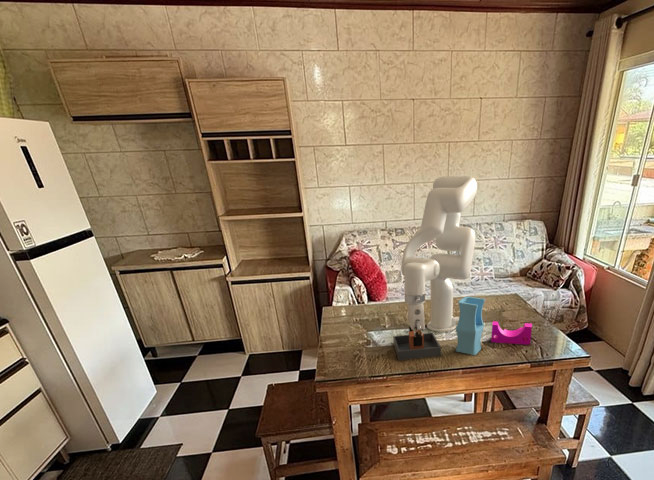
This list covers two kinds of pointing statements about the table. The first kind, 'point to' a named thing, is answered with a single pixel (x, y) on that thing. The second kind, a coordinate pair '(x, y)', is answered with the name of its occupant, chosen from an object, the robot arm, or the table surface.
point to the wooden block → (411, 345)
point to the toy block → (511, 334)
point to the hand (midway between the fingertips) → (415, 340)
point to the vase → (470, 325)
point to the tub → (404, 351)
